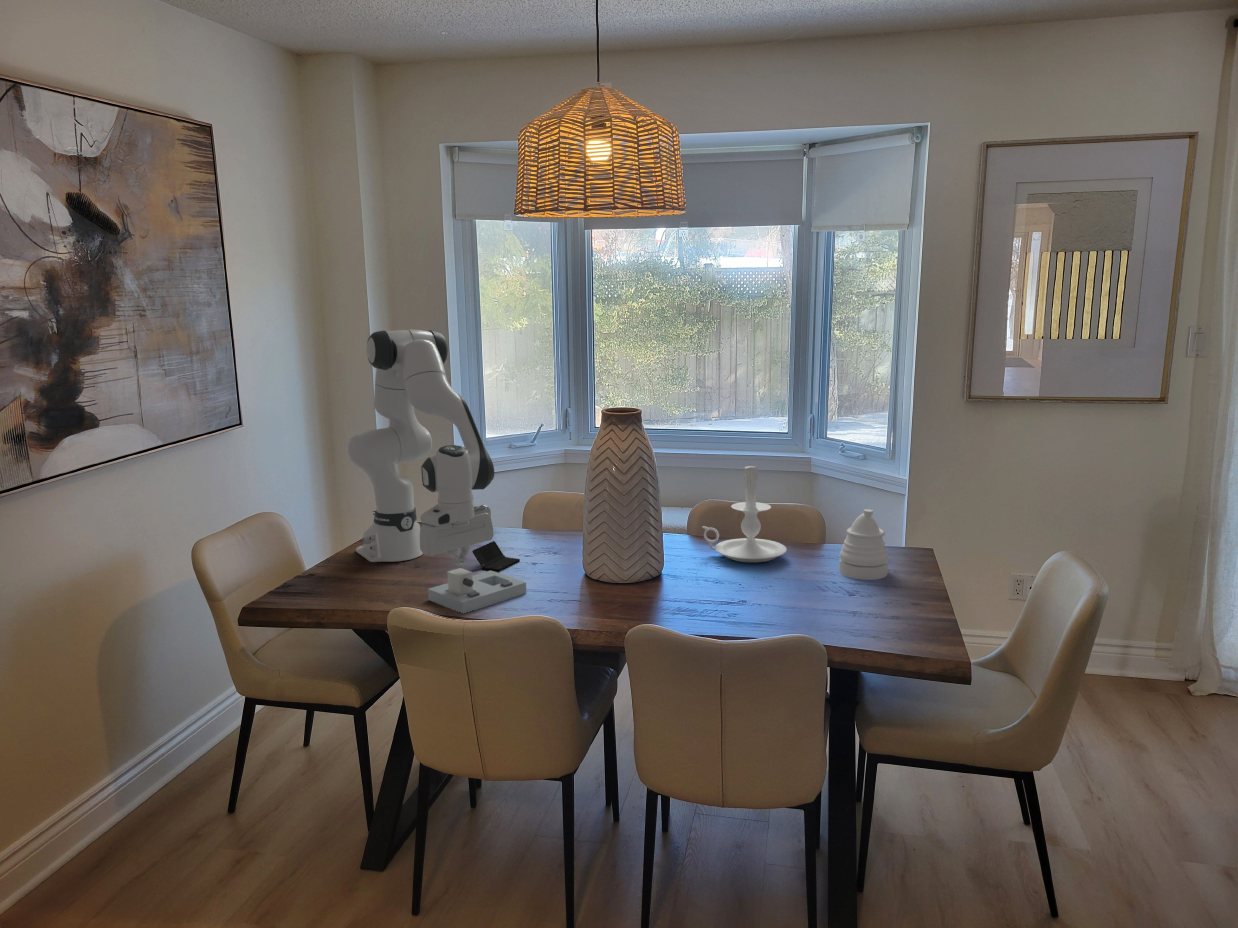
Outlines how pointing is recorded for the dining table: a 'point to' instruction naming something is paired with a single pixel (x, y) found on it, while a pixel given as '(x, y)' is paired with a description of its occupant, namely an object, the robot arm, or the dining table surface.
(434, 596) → the plate
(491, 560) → the handheld gaming console
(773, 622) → the dining table surface
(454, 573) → the plug
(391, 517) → the robot arm
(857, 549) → the honey pot
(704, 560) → the dining table surface
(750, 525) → the candlestick
